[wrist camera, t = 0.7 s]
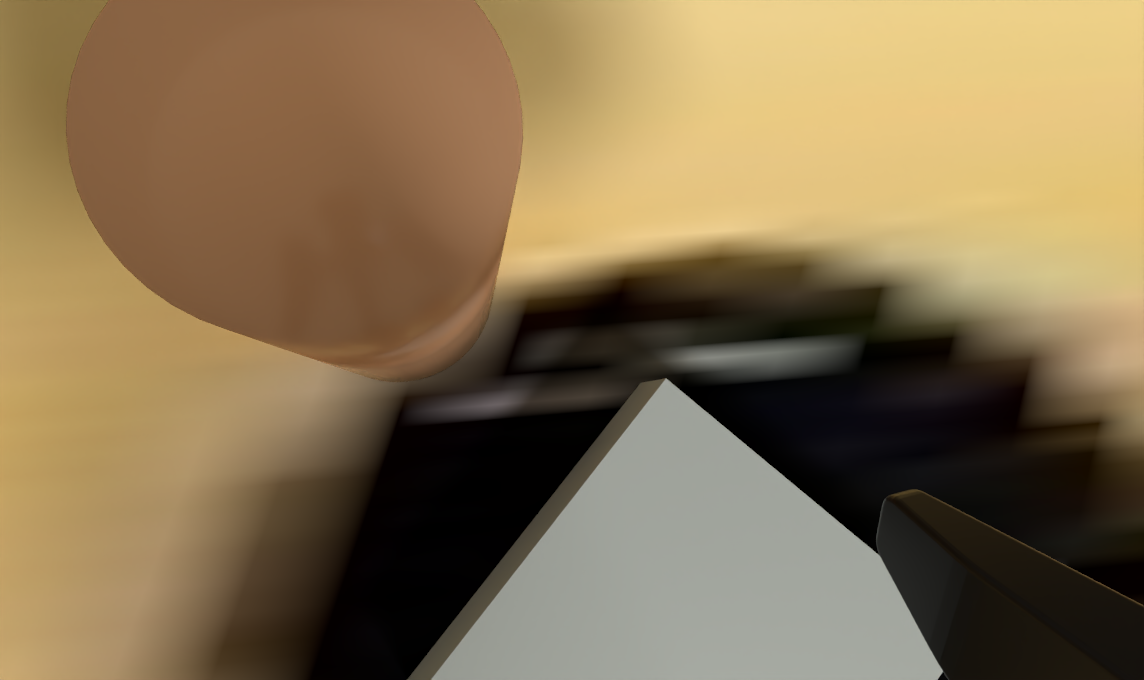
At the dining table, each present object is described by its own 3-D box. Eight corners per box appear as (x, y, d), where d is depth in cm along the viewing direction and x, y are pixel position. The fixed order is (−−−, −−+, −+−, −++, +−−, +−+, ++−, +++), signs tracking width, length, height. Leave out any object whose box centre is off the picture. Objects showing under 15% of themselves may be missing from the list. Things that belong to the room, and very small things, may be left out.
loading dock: (699, 911, 22) (735, 989, 19) (406, 680, 21) (396, 723, 18) (906, 602, 24) (969, 630, 21) (640, 382, 23) (665, 378, 20)
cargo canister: (410, 420, 22) (327, 432, 9) (261, 299, 22) (-39, 138, 9) (529, 278, 23) (606, 108, 10) (388, 160, 23) (281, -168, 10)
